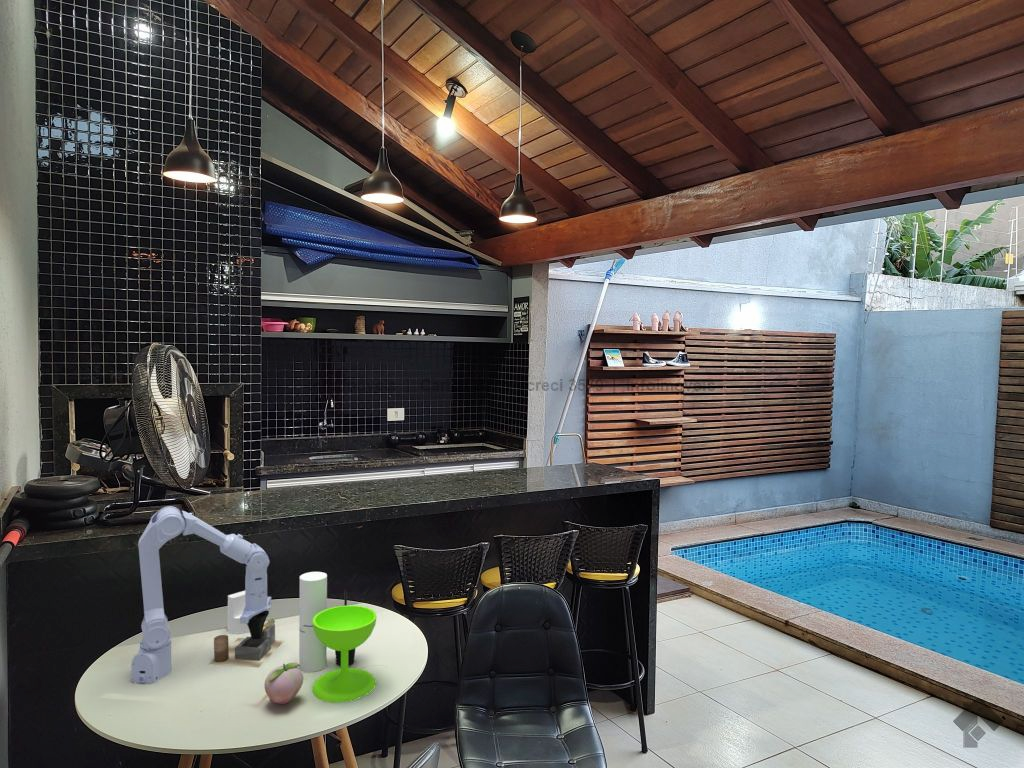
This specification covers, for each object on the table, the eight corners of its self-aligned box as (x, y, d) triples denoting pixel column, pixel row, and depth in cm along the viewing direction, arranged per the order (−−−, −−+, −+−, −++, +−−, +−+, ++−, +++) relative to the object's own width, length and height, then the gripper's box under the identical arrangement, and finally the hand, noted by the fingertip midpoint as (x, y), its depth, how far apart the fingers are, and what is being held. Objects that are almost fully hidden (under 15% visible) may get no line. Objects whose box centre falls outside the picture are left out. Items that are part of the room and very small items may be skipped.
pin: (261, 638, 186) (261, 631, 186) (254, 637, 186) (254, 630, 186) (275, 625, 195) (275, 618, 195) (268, 624, 195) (268, 618, 195)
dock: (258, 671, 176) (258, 648, 176) (208, 668, 177) (208, 645, 177) (284, 644, 192) (284, 623, 192) (238, 641, 193) (238, 621, 193)
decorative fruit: (282, 690, 167) (282, 652, 166) (308, 697, 164) (309, 658, 163) (255, 709, 158) (255, 668, 158) (283, 716, 155) (283, 675, 155)
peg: (225, 662, 178) (224, 641, 178) (211, 662, 178) (211, 640, 178) (231, 655, 182) (230, 635, 181) (218, 655, 182) (217, 634, 181)
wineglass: (358, 664, 181) (359, 600, 180) (387, 688, 169) (387, 620, 168) (302, 682, 171) (302, 614, 170) (328, 709, 159) (328, 636, 158)
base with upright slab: (237, 640, 194) (237, 600, 193) (221, 632, 199) (221, 593, 199) (265, 630, 201) (265, 592, 200) (249, 622, 207) (249, 585, 206)
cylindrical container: (318, 673, 176) (319, 581, 174) (294, 670, 177) (294, 579, 176) (331, 661, 183) (331, 573, 181) (307, 658, 184) (307, 570, 183)
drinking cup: (324, 664, 181) (325, 593, 180) (344, 653, 187) (344, 584, 186) (346, 671, 177) (346, 599, 176) (365, 660, 184) (365, 590, 183)
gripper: (257, 601, 177) (257, 650, 177) (281, 582, 191) (281, 628, 192) (232, 600, 177) (232, 649, 178) (258, 581, 192) (258, 626, 192)
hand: (256, 638), depth 185 cm, fingers closed
